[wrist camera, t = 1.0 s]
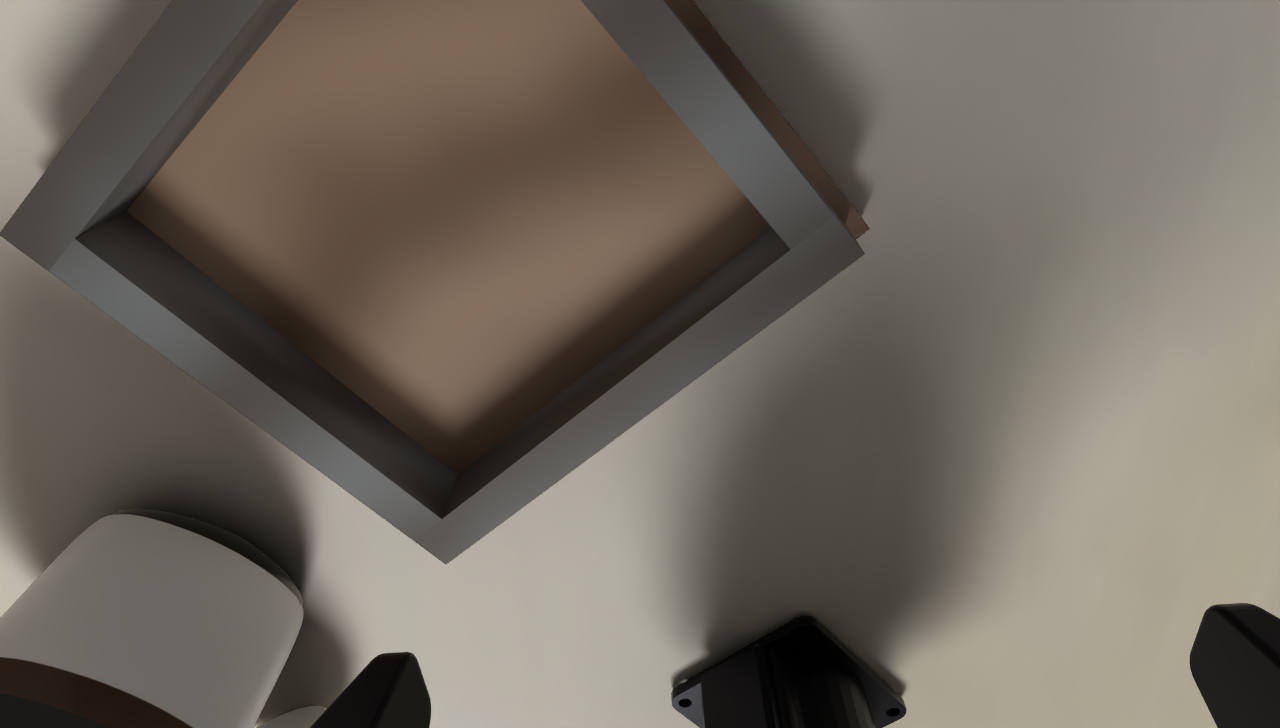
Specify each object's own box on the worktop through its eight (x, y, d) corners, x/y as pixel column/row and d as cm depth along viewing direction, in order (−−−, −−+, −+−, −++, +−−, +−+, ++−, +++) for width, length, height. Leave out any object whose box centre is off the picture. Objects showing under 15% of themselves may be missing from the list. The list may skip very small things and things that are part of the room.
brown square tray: (862, 218, 20) (891, 258, 18) (468, 517, 25) (449, 580, 23) (441, -322, 15) (400, -372, 12) (52, 193, 20) (-31, 230, 17)
